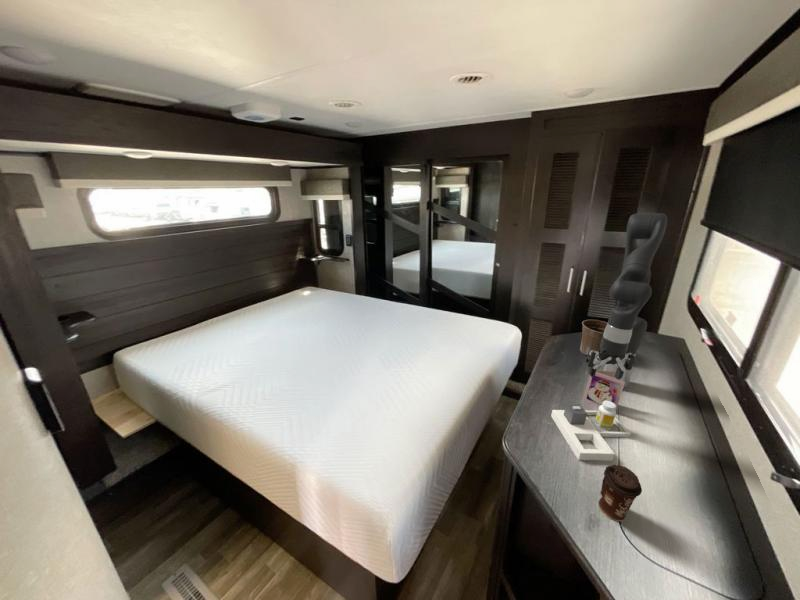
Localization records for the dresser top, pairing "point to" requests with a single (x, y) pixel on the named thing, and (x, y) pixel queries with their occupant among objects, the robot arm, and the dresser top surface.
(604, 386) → the greeting card
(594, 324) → the plant pot
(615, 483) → the coffee cup
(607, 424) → the supplement bottle
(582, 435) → the white holder base
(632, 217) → the robot arm
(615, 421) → the tray
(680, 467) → the dresser top surface
